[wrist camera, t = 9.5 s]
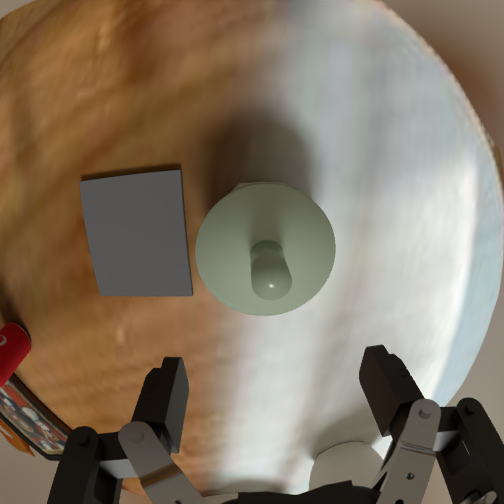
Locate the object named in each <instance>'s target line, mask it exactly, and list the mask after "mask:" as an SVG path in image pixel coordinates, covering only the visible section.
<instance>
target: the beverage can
mask: <svg viewBox="0 0 504 504" xmlns="http://www.w3.org/2000/svg"><path fill="white" fill-rule="evenodd" d="M30 350H31V342H30V339H29V337H28V335H27V333H26V332H25V330H24V329H23V328H22V327H21V326H19V325H18V324H16V323H13V322H8V323H7V324H6V325H5V326H4V327H3V328H2V329H1V330H0V388H1V387H3V386H4V385H5V383H6V382H7V380H8V379H9V378H10V376H11V375H12V374H13V372H14V371H15V370H16V368H17V367H18V366H19V364H20V363H21V362H22V360H23V359H24V358H25V357H26V355H27V354H28V353H29V351H30Z"/></svg>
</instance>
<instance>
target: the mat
mask: <svg viewBox="0 0 504 504" xmlns="http://www.w3.org/2000/svg"><path fill="white" fill-rule="evenodd" d="M79 185H80V194H81V202H82V209H83V215H84V222H85V228H86V233H87V239H88V244H89V249H90V254H91V259H92V263H93V268H94V272H95V276H96V280H97V284H98V288H99V292H100V295H104V296H193V288H192V280H191V271H190V263H189V253H188V244H187V234H186V223H185V211H184V198H183V184H182V169H181V170H169V171H158V172H148V173H139V174H130V175H122V176H114V177H107V178H99V179H93V180H86V181H81V182H79Z"/></svg>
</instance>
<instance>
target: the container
mask: <svg viewBox="0 0 504 504" xmlns="http://www.w3.org/2000/svg"><path fill="white" fill-rule="evenodd" d="M236 498H238V493H232V494H224V495H215V496H207V497H204V499H205V500H206V502H207V503H208V504H221V503H223V502H226V501H229V500H232V499H236Z"/></svg>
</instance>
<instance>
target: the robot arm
mask: <svg viewBox="0 0 504 504" xmlns="http://www.w3.org/2000/svg"><path fill="white" fill-rule="evenodd" d="M359 380H360V384H361V386H362V389H363V391H364V393H365V396H366V398H367V401H368V403H369V405H370V408H371V410H372V413H373V415H374V418H375V420H376V423H377V425H378V428H379V430H380V433H381V435H382V437H385V436H389V435H391V436H392V439H393V440H392V441H391V443H390V446H389V448H388V451H387V453H386V456H385V458H384V460H383V463H382V465H381V467H380V469H379V471H378V474H377V475H376V477H375V479H374V480H373V482H372V484H371V485H370V487H369V488H368V487H364V486H356V485H353V484H352V480H348V481H343V482H338V483H333V484H327V485H323V486H321V487H318V488H316V489H313V490H310V491H307V492H305V493H302V494H298V495H291V494H282V493H274V492H238V498H236V499H232V500H229V501H226V502H223V503H221V504H421V502H422V499H423V496H424V493H425V490H426V488H427V484H428V481H429V478H430V475H431V472H432V468H433V465H434V461H435V457H436V458H437V461H438V463H439V466H440V468H441V471H442V474H443V477H444V479H445V482H446V485H447V488H448V491H449V494H450V497H451V500H452V502H453V504H504V444H503V442H502V441H501V438H500V436H499V435H498V433H497V431H496V429H495V427H494V426H493V424H492V422H491V420H490V419H489V417H488V415H487V413H486V412H485V410H484V408H483V407H482V405H481V404H480V402H478V401H477V400H476V399H473V398H463V399H462V400H460V401H459V403H458V404H457V406H456V407H439V405H438V404H437V403H436V402H434V401H432V400H430V399H425V398H424V396H423V395H422V393H421V391H420V390H419V388H418V386H417V385H416V383H415V381H414V380H413V378H412V376H410V373H409V371H408V370H407V369H406V366H405V365H404V363H403V362H402V360H401V359H400V358H398V357H397V356H396V355H394V354H389V353H388V351H387V350H386V348H385V347H384V345H376V346H369V347H366V349H365V352H364V356H363V360H362V363H361V367H360V371H359ZM188 394H189V383H188V378H187V374H186V370H185V366H184V362H183V358H182V357H165V358H164V360H163V363H162V366H161V368H153V369H152V370H151V371H150V372H149V373H148V374H147V375H146V378H145V381H144V384H143V387H142V390H141V394H140V396H139V399H138V402H137V405H136V408H135V411H134V414H133V417H132V420H131V422H130V423H127V424H125V425H124V426H123V427H122V428H121V429H120V431H118V432H113V433H103V434H97V432H96V431H95V430H94V429H92V428H90V427H87V426H81V427H77V428H75V429H74V430H72V431H71V432H70V434H69V436H68V438H67V441H66V444H65V447H64V450H63V452H62V455H61V458H60V462H59V464H58V467H57V471H56V474H55V477H54V481H53V484H52V487H51V490H50V494H49V498H48V501H47V504H119V499H120V492H121V487H122V481H123V478H129V477H139V479H140V481H141V482H140V483H141V485H142V487H143V489H144V490H145V492H146V494H147V495H148V497H149V498H150V500H151V501H152V503H153V504H208V503H207V502H206V500H205V499H204V498H203V497H202V496H201V494H200V493H199V492H198V491H197V490H196V488H195V487H194V486H193V485H192V483H191V482H190V481H189V480H188V478H187V477H186V476H185V474H184V473H183V472H182V470H181V469H180V468H179V467H178V466H177V465H176V464H175V463H174V461H173V460H172V458H171V457H170V455H171V453H179V448H180V442H181V436H182V430H183V423H184V417H185V412H186V406H187V400H188ZM463 442H464V443H463ZM464 444H465V445H464ZM465 446H466V447H465ZM466 448H467V450H468V452H469V454H468V452H467V450H466ZM469 455H470V456H469Z"/></svg>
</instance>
